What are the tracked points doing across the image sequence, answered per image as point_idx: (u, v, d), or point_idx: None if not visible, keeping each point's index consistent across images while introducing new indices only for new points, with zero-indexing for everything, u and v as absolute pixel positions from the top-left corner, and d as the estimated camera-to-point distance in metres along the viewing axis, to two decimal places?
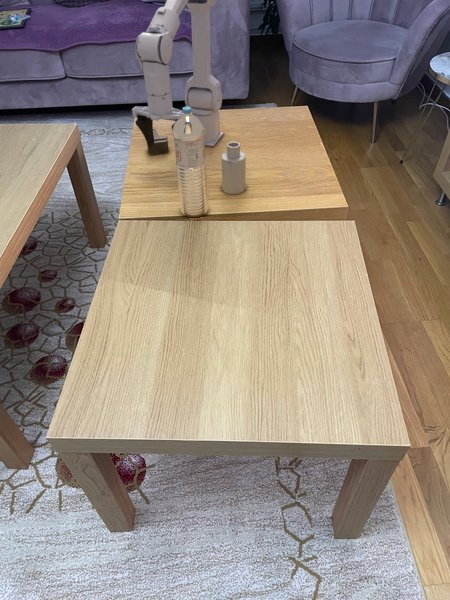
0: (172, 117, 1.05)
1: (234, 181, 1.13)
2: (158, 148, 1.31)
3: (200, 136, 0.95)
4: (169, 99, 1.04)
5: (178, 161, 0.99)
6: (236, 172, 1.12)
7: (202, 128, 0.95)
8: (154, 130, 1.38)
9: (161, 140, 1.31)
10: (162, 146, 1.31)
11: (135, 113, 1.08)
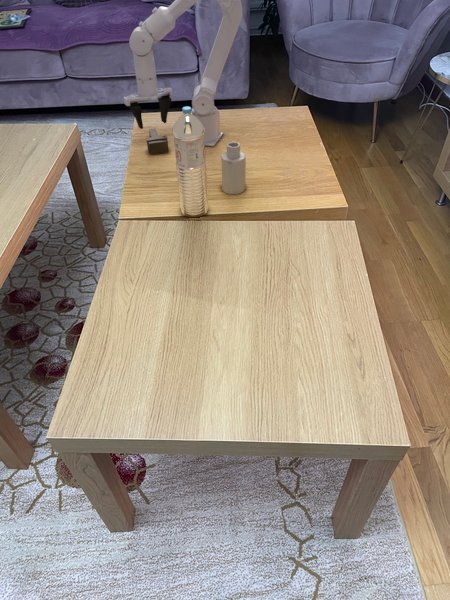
0: (163, 94, 1.29)
1: (234, 181, 1.13)
2: (158, 148, 1.31)
3: (200, 136, 0.95)
4: None
5: (178, 161, 0.99)
6: (236, 172, 1.12)
7: (202, 128, 0.95)
8: (154, 130, 1.38)
9: (161, 140, 1.31)
10: (162, 146, 1.31)
11: (129, 102, 1.27)
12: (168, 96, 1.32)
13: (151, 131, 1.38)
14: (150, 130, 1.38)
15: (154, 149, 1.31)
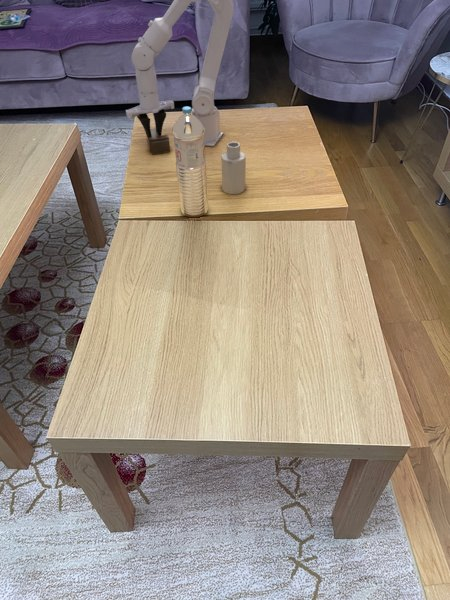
0: (164, 106, 1.32)
1: (234, 181, 1.13)
2: (160, 148, 1.31)
3: (200, 136, 0.95)
4: None
5: (178, 161, 0.99)
6: (236, 172, 1.12)
7: (202, 128, 0.95)
8: (154, 130, 1.38)
9: (163, 140, 1.31)
10: (164, 145, 1.31)
11: (131, 115, 1.29)
12: None
13: (151, 131, 1.38)
14: None
15: (156, 149, 1.31)
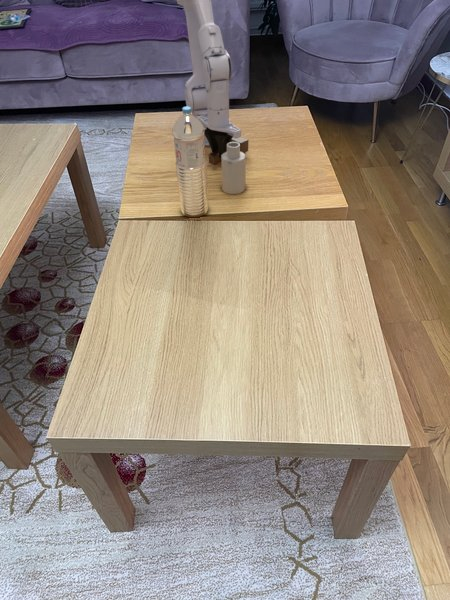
0: None
1: (234, 181, 1.13)
2: None
3: (200, 136, 0.95)
4: None
5: (178, 161, 0.99)
6: (236, 172, 1.12)
7: (202, 128, 0.95)
8: (213, 153, 1.25)
9: None
10: None
11: None
12: None
13: (217, 153, 1.24)
14: (215, 154, 1.24)
15: None
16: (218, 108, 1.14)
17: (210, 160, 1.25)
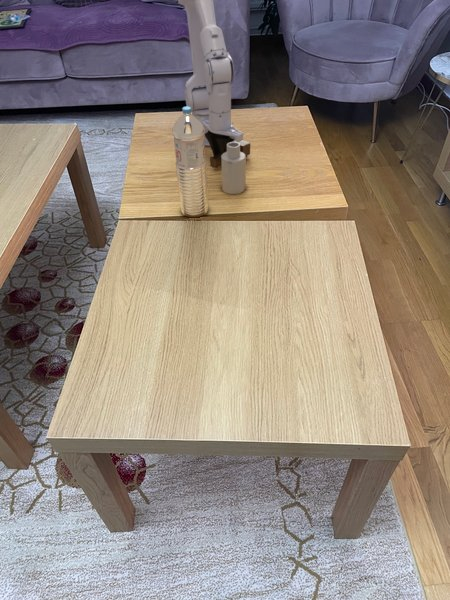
0: None
1: (234, 181, 1.13)
2: None
3: (200, 136, 0.95)
4: None
5: (178, 161, 0.99)
6: (236, 172, 1.12)
7: (202, 128, 0.95)
8: (215, 156, 1.23)
9: None
10: None
11: None
12: None
13: (218, 156, 1.23)
14: (217, 158, 1.23)
15: None
16: (220, 111, 1.13)
17: (211, 163, 1.24)
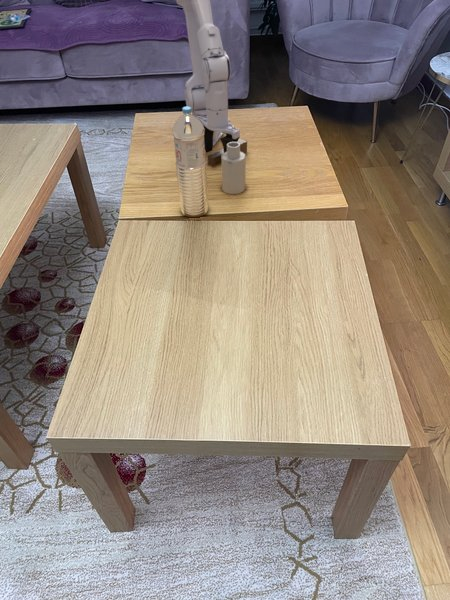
0: None
1: (234, 181, 1.13)
2: None
3: (200, 136, 0.95)
4: None
5: (178, 161, 0.99)
6: (236, 172, 1.12)
7: (202, 128, 0.95)
8: (212, 154, 1.26)
9: None
10: None
11: None
12: None
13: (216, 155, 1.26)
14: (214, 156, 1.25)
15: None
16: (217, 109, 1.15)
17: (209, 162, 1.26)
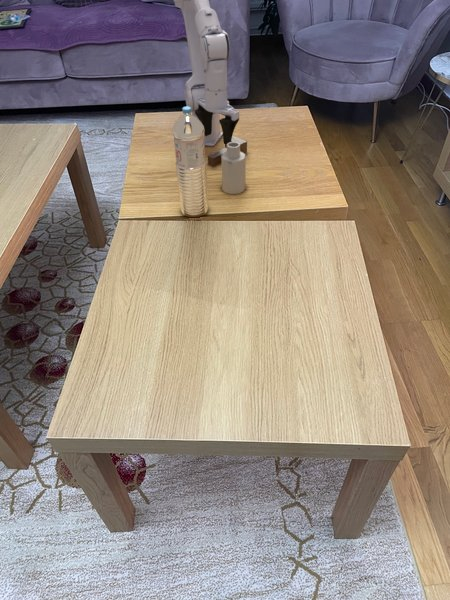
0: None
1: (234, 181, 1.13)
2: None
3: (200, 136, 0.95)
4: None
5: (178, 161, 0.99)
6: (236, 172, 1.12)
7: (202, 128, 0.95)
8: (212, 154, 1.26)
9: (235, 138, 1.31)
10: None
11: None
12: None
13: (216, 155, 1.26)
14: (214, 156, 1.25)
15: None
16: (216, 89, 1.12)
17: (209, 162, 1.26)
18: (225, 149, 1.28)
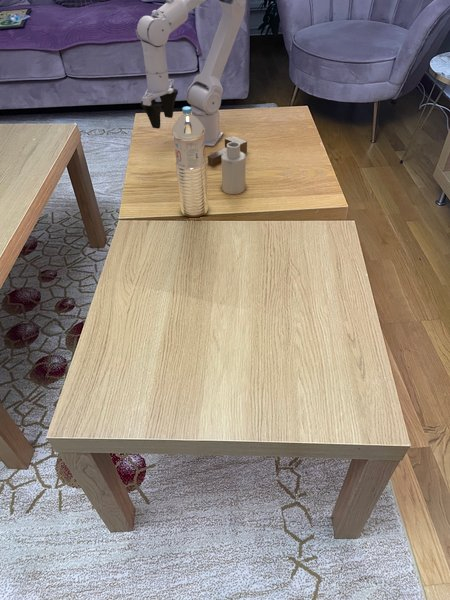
0: (171, 85, 1.22)
1: (234, 181, 1.13)
2: None
3: (200, 136, 0.95)
4: None
5: (178, 161, 0.99)
6: (236, 172, 1.12)
7: (202, 128, 0.95)
8: (212, 154, 1.26)
9: (235, 138, 1.31)
10: None
11: (150, 100, 1.16)
12: (171, 88, 1.24)
13: (216, 155, 1.26)
14: (214, 156, 1.25)
15: None
16: None
17: (209, 162, 1.26)
18: (225, 149, 1.28)
